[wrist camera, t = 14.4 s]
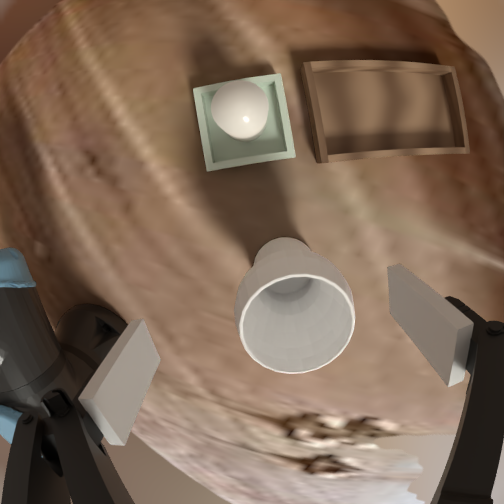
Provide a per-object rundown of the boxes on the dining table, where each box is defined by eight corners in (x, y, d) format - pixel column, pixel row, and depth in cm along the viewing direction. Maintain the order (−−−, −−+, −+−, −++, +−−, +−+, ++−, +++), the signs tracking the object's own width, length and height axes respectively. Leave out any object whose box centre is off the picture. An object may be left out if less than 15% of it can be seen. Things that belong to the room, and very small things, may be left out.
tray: (316, 163, 35) (321, 163, 32) (300, 69, 31) (303, 62, 29) (457, 153, 33) (469, 153, 30) (443, 71, 30) (454, 67, 27)
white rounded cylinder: (228, 145, 34) (215, 138, 24) (221, 106, 32) (206, 86, 23) (269, 138, 33) (273, 129, 24) (262, 99, 32) (263, 76, 23)
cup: (225, 276, 39) (206, 341, 24) (274, 207, 36) (285, 238, 22) (292, 319, 40) (306, 394, 26) (342, 257, 38) (386, 311, 23)
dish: (210, 171, 35) (206, 171, 33) (197, 93, 32) (192, 88, 30) (293, 157, 34) (295, 157, 32) (279, 79, 32) (280, 73, 29)
